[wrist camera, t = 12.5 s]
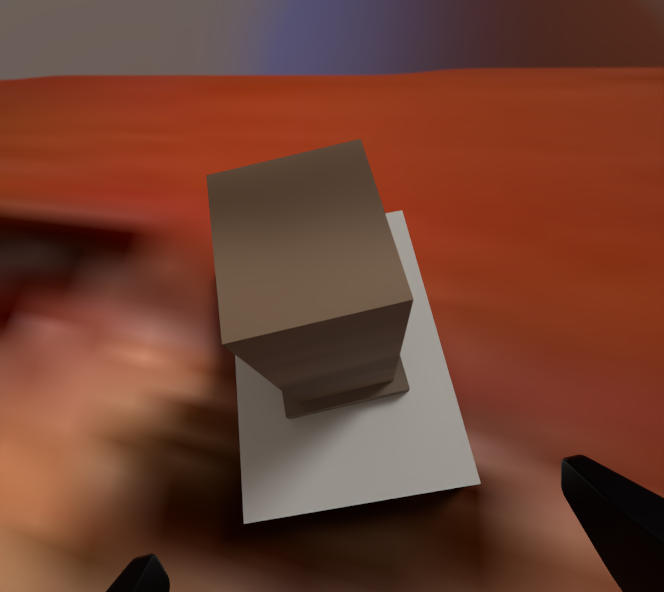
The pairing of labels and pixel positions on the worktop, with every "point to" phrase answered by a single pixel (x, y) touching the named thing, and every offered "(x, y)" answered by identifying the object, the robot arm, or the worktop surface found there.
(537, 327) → the worktop surface
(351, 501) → the display block
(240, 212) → the brown box on plinth
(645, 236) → the worktop surface
